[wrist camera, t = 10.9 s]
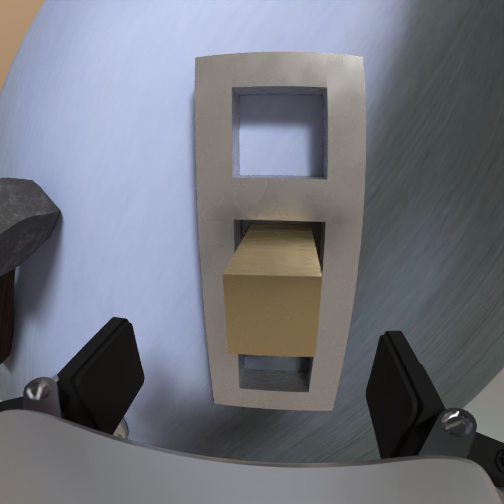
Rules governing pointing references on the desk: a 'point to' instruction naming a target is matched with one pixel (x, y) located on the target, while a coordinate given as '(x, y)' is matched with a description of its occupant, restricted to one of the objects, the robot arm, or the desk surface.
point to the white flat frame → (280, 210)
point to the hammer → (19, 241)
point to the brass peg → (273, 292)
